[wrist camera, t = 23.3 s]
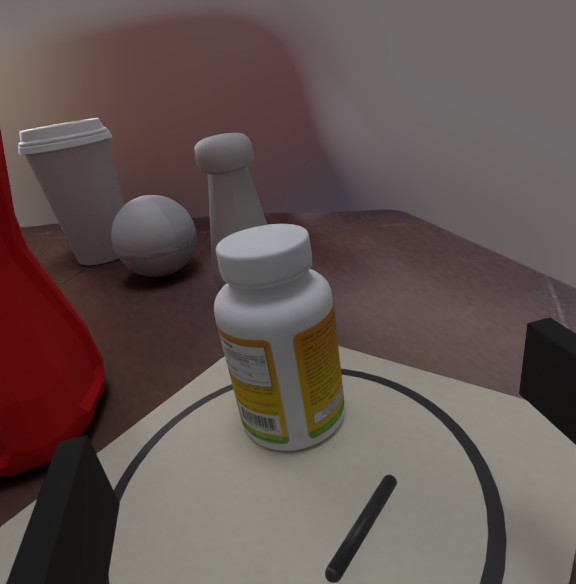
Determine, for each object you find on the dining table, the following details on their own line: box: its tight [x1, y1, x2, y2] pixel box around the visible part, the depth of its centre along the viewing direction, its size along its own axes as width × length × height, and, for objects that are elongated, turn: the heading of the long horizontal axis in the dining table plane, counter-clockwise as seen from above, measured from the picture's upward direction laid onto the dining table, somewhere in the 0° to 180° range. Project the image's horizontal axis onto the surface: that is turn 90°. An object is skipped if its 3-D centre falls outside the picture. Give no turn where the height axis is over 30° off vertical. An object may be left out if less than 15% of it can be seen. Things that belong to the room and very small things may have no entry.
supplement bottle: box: [214, 224, 345, 451], centre depth 20 cm, size 5×5×10 cm
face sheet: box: [0, 346, 576, 584], centre depth 19 cm, size 20×20×1 cm
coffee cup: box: [18, 118, 124, 265], centre depth 49 cm, size 10×10×15 cm
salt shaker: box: [195, 133, 267, 289], centre depth 34 cm, size 6×6×13 cm
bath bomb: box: [111, 195, 196, 277], centre depth 43 cm, size 8×8×8 cm
